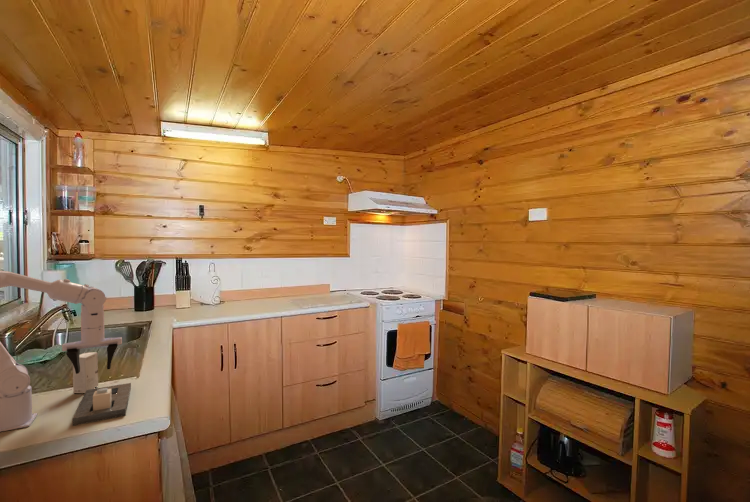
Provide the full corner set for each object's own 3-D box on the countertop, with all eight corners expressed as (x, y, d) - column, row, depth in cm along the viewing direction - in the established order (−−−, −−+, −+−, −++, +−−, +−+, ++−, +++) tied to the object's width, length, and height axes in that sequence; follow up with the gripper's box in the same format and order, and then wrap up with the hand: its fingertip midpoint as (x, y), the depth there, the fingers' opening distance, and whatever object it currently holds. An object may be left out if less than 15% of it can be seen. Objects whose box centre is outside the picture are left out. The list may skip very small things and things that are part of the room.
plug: (93, 416, 106) (92, 393, 106) (95, 411, 109) (94, 388, 109) (110, 413, 108) (109, 390, 108) (111, 408, 111) (111, 385, 111)
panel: (72, 425, 101) (72, 418, 101) (86, 396, 120) (86, 390, 120) (125, 415, 107) (125, 408, 107) (130, 388, 126) (130, 382, 126)
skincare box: (86, 393, 121) (85, 357, 121) (72, 394, 121) (71, 357, 121) (99, 386, 127) (98, 351, 127) (85, 386, 127) (85, 352, 127)
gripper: (122, 321, 121) (123, 362, 121) (65, 326, 113) (66, 370, 114) (120, 326, 114) (121, 369, 115) (60, 331, 107) (61, 377, 108)
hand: (93, 370), depth 114 cm, fingers open, 7 cm apart
